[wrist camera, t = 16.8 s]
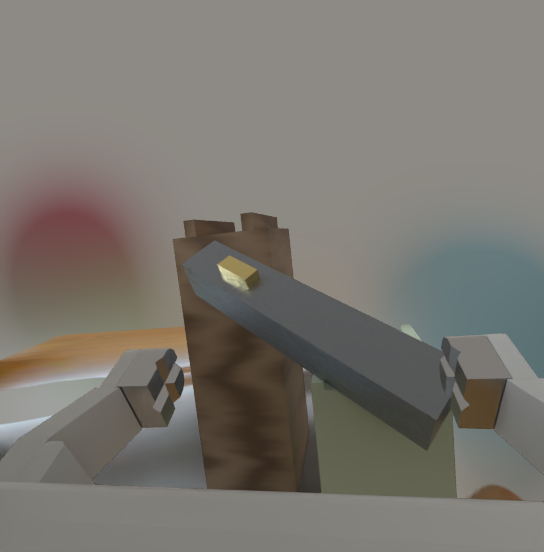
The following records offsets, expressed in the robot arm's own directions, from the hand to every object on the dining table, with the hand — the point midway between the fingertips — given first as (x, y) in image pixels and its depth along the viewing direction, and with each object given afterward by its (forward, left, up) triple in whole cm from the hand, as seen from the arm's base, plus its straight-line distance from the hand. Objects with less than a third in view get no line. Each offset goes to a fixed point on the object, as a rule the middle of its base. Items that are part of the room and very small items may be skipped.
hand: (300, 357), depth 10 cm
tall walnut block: (-19, +19, -21) cm, 34 cm away
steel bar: (-7, +11, -3) cm, 14 cm away
